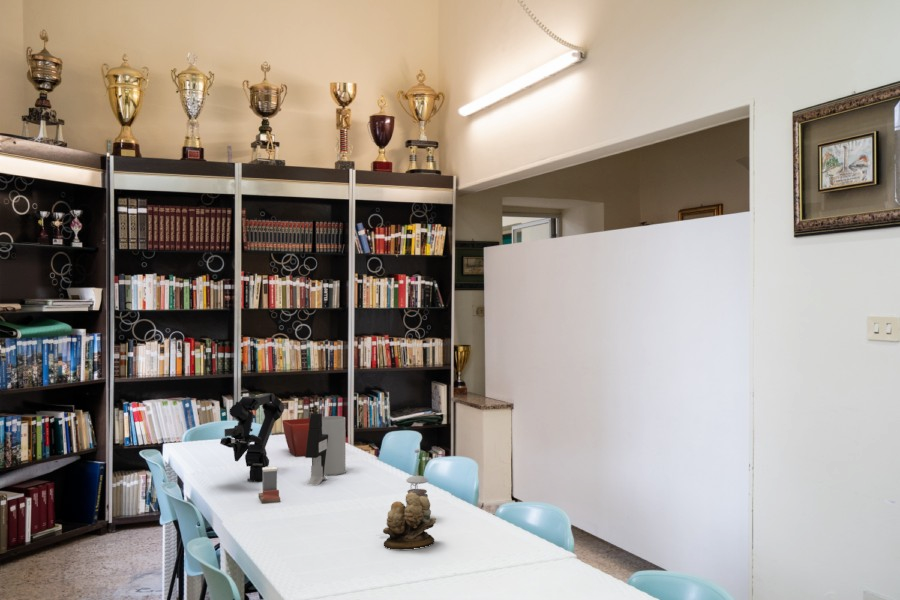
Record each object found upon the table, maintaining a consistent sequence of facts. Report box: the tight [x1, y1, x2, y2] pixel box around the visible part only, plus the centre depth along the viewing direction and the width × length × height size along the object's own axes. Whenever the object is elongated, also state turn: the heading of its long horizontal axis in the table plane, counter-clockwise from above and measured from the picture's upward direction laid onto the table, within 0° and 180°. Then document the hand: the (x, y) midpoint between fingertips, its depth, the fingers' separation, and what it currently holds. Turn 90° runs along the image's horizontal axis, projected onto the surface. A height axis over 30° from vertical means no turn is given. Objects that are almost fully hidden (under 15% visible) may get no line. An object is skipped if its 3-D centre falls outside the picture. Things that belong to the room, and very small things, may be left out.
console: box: [258, 489, 281, 504], centre depth 317 cm, size 11×7×4 cm, turn 21°
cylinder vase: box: [322, 415, 346, 476], centre depth 366 cm, size 12×12×25 cm
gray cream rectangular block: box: [262, 466, 278, 492], centre depth 316 cm, size 4×5×11 cm
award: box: [304, 412, 328, 486], centre depth 347 cm, size 15×5×30 cm, turn 168°
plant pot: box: [281, 417, 310, 457], centre depth 411 cm, size 19×19×17 cm
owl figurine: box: [382, 492, 437, 550], centre depth 260 cm, size 18×12×17 cm, turn 116°
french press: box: [405, 448, 429, 507], centre depth 292 cm, size 10×12×25 cm
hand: (236, 461), depth 332 cm, fingers closed
